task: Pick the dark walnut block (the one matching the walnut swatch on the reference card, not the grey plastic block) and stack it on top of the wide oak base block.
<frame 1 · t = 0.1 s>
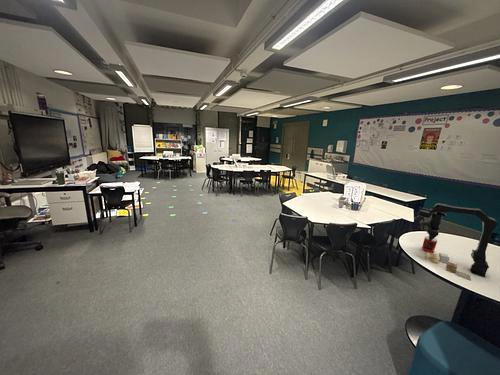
hand: (430, 238, 154), 15 cm above the table, fingers open, 9 cm apart
walnut block: (450, 270, 140), on the table
oak base: (431, 260, 152), on the table
reference card: (462, 275, 136), on the table
grey block: (442, 261, 152), on the table
canned food: (427, 250, 165), on the table
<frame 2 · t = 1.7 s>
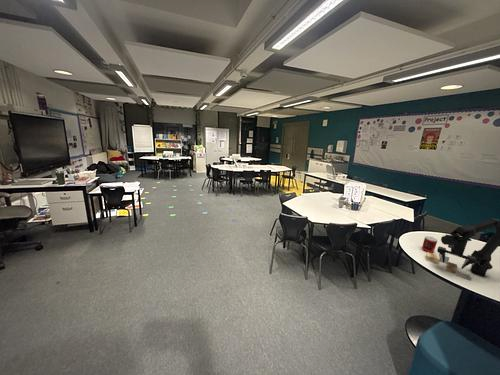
hand: (452, 265, 139), 4 cm above the table, fingers open, 9 cm apart
nothing on the table moved.
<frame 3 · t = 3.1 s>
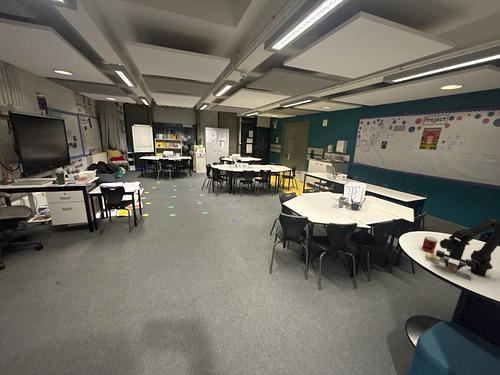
hand: (450, 269, 140), 1 cm above the table, fingers closed on walnut block, 4 cm apart
walnut block: (450, 270, 140), on the table, touching gripper
everything else where it was.
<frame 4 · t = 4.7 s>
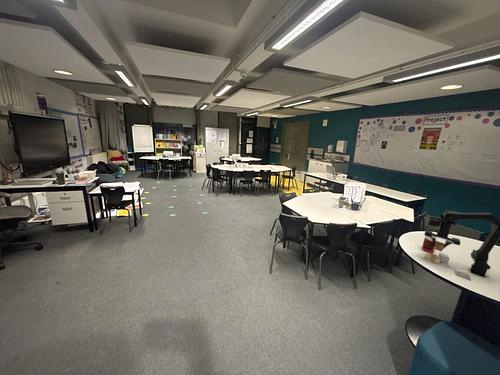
hand: (438, 247, 147), 11 cm above the table, fingers closed on walnut block, 4 cm apart
walnut block: (437, 249, 148), point 10 cm above the table, touching gripper
everything else where it was.
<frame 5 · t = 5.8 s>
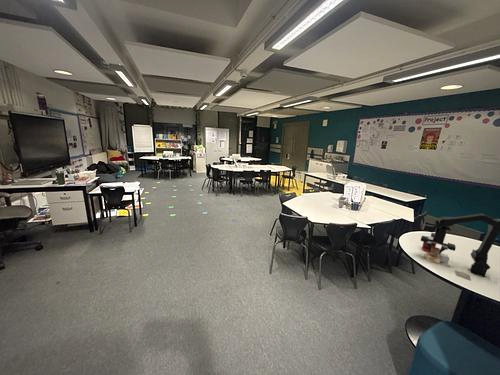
hand: (434, 253, 150), 6 cm above the table, fingers closed on walnut block, 4 cm apart
walnut block: (433, 254, 151), point 5 cm above the table, touching gripper
everything else where it was.
when the fingers open (6 cm above the table, at t = 6.5 s): walnut block drops 1 cm, resting on oak base.
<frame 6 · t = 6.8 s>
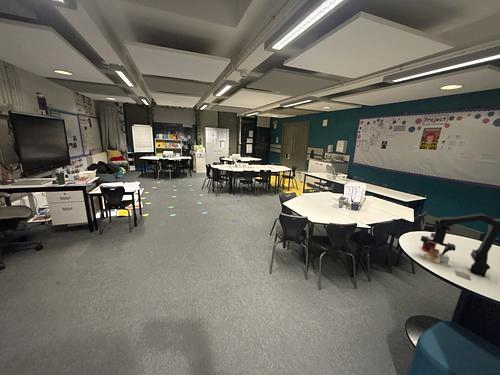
hand: (434, 253, 150), 6 cm above the table, fingers open, 8 cm apart
walnut block: (433, 255, 151), point 4 cm above the table, touching oak base
oak base: (431, 260, 152), on the table, touching walnut block
everything else where it was.
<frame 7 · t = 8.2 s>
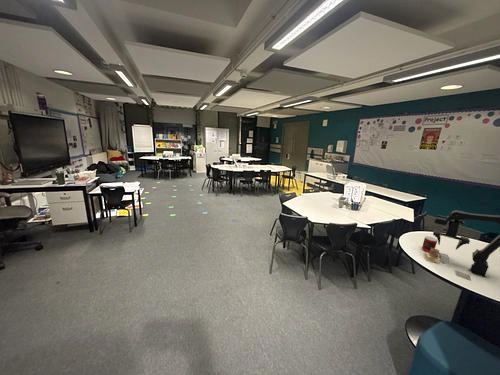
hand: (447, 247, 149), 12 cm above the table, fingers open, 9 cm apart
nothing on the table moved.
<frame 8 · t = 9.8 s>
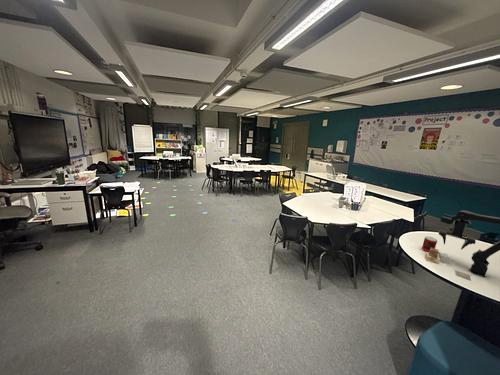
hand: (452, 246, 149), 12 cm above the table, fingers open, 9 cm apart
nothing on the table moved.
at the end: walnut block 0.1 cm off-centre on the oak base, point 4.0 cm above the oak base's base; walnut block tilted 0°; the gripper is holding nothing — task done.
